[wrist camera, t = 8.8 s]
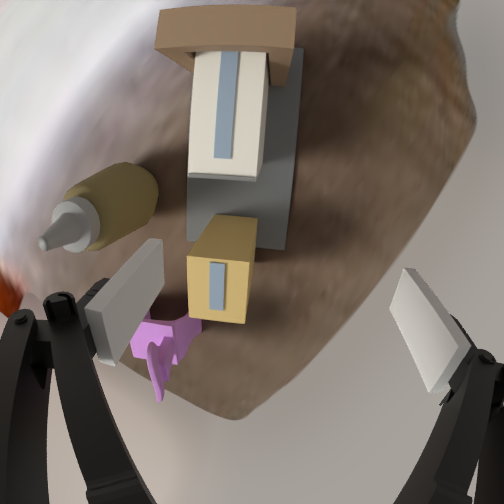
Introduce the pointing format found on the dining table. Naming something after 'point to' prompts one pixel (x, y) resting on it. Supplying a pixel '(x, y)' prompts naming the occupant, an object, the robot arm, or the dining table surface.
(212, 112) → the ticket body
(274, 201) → the mat
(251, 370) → the dining table surface
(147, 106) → the dining table surface
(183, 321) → the pink scoop
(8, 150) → the dining table surface
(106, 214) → the squeeze bottle
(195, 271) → the stub
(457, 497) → the robot arm
